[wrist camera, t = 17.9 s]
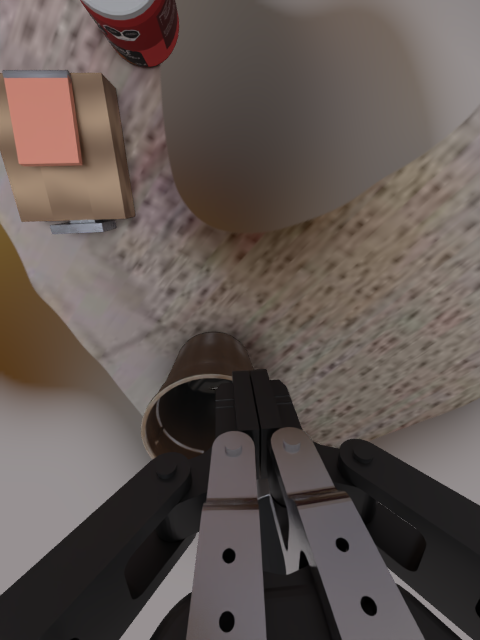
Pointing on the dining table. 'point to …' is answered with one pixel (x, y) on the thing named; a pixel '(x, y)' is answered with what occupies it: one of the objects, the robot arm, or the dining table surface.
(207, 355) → the plant pot
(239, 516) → the robot arm
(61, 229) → the steel block
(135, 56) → the canned food
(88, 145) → the block
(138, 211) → the dining table surface
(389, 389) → the dining table surface
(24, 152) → the pink flat tile
